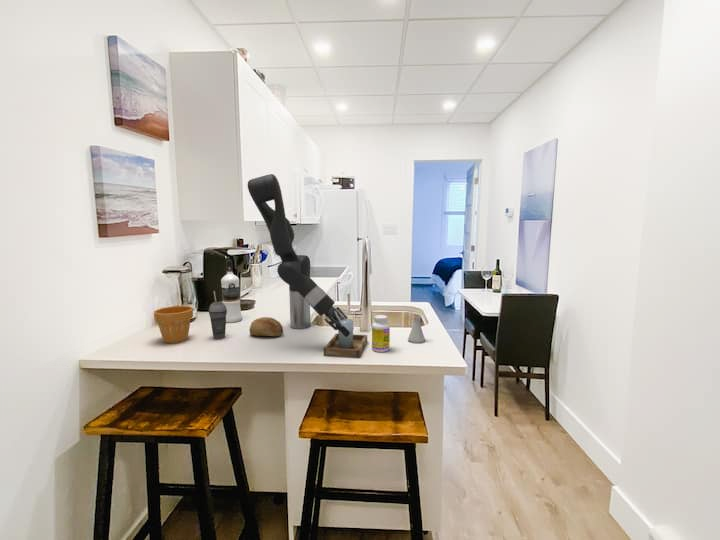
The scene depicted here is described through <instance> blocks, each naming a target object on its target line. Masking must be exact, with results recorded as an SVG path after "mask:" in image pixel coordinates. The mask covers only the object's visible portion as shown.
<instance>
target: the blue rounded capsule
mask: <svg viewBox="0 0 720 540" xmlns="http://www.w3.org/2000/svg"><path fill="white" fill-rule="evenodd" d="M341 323H342V324H343V326H344V327H345V328H346V329H347V330H348V331H349V332H350V334H349V335H348V336H347V337H345V336H344V335H343V334H342V333H341V332H340V331H339V330H337V334H338V347H339V348H341V349H350V348H353V334H354V329H353V327H354V320H353V319H350V318H347V319H341Z"/></svg>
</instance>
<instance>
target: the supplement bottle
mask: <svg viewBox="0 0 720 540" xmlns="http://www.w3.org/2000/svg"><path fill="white" fill-rule="evenodd" d="M387 321H388V316H387V315H383V314H378V315H375V316H374V322H373V323H371V350H372V351H374V352H377V353H386V352H388V351H389V350H390V338H391V337H390V333H391V332H390V329H391V327H390V323H388V322H387Z"/></svg>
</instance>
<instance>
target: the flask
mask: <svg viewBox="0 0 720 540" xmlns="http://www.w3.org/2000/svg"><path fill="white" fill-rule="evenodd" d="M412 318H413V324H412V328H411V329H410V333H409V334H408V335H409V336H408V337H407V342H409V341H410V342H411V343H415V344H416V343H417V344H422V343H425V342H426V338H425V335H424V333H423V329H422V325H421V319H422V316H419V315H413V316H412ZM424 341H425V342H424Z"/></svg>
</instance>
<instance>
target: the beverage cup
mask: <svg viewBox="0 0 720 540" xmlns="http://www.w3.org/2000/svg"><path fill="white" fill-rule="evenodd" d="M213 295H214V297H213V298H214V301H213V302H212V303H211V304H210V306H209V308H208V315H209V317H210V323H211V324H210V325H211V332H212V336H213V339H214V340H223V339H225V338H226V326H227V323H226V314H227V308H226V306H225V304H224V303H222V301H220V300H219V301H217V297H216V291H215V290H214V291H213ZM222 338H223V339H222Z"/></svg>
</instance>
